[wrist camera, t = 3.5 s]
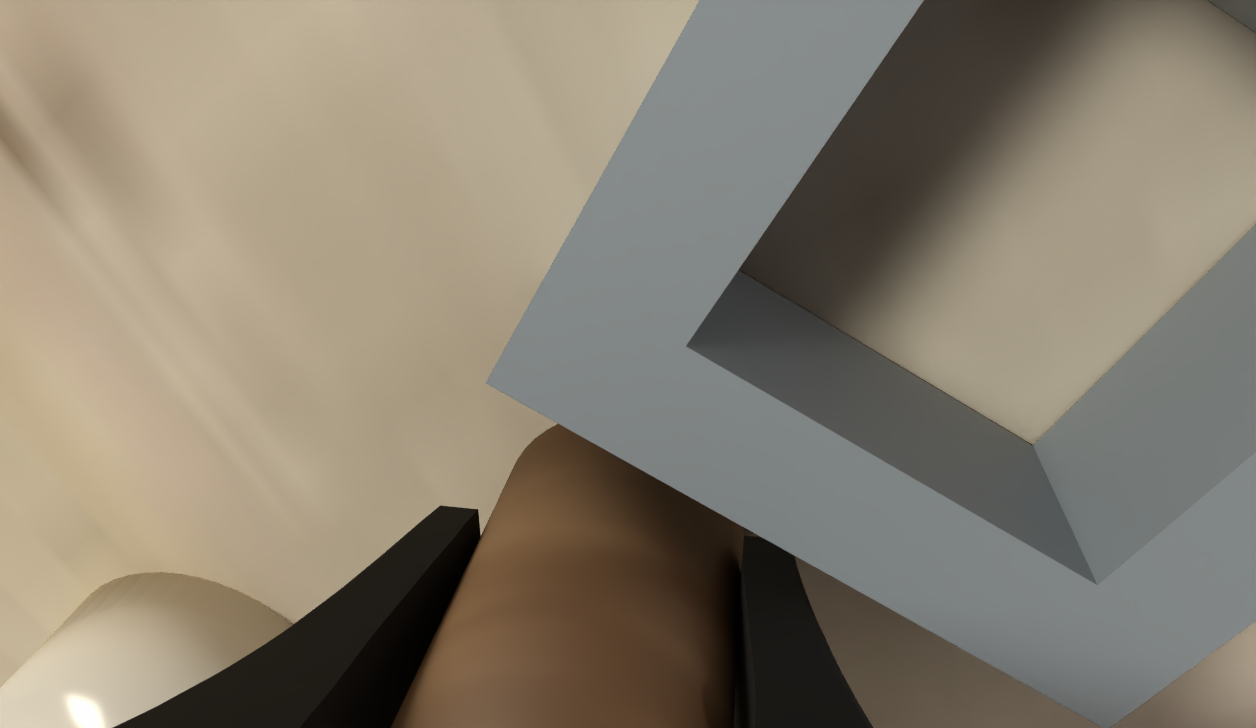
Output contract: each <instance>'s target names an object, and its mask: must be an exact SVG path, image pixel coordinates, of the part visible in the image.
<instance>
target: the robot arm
mask: <svg viewBox="0 0 1256 728" xmlns="http://www.w3.org/2000/svg"><path fill="white" fill-rule="evenodd" d="M480 537H481V536H480V525H479V515H478V509H468V508H458V507H448V506H439V507H438V508H437V509H436V510H434V511H433V512H432V513H431V514H430V515H428V516H427V517H426V518H425V519H423V520H422V521H421V522H420V523H419V524H418V525H416V526H415V527H414V528H413V529H412V530H411V531H409V532H408V533H407V534H406V535H405V536H404V537H402V538H401V539H400V540H399V541H398V542H397V543H396V544H394V545H393V546H392V547H391V548H390V549H389V550H387V551H386V552H385V553H384V554H383V555H381V556H380V557H379V558H378V559H377V560H376V561H374V562H373V563H372V564H371V565H370V566H368V567H367V568H366V569H365V570H363V571H362V572H361V573H360V574H359V575H357V576H356V577H355V578H354V579H352V580H351V581H350V582H349V583H348V584H346V585H345V586H344V587H343V588H341V589H340V590H339V591H338V592H336V593H335V594H334V595H332V596H331V597H330V598H328V599H327V600H326V601H324V602H323V603H322V604H320V605H319V606H318V607H316V608H315V609H314V610H312V611H311V612H310V613H308V614H307V615H306V616H304V617H303V618H302V619H300V620H299V621H298V622H296V623H295V624H294V625H292V626H291V627H289V628H288V629H286V630H285V631H284V632H282V633H281V634H279V635H278V636H276V637H275V638H273V639H272V640H270V641H269V642H267V643H266V644H264V645H263V646H261V647H259V648H258V649H256V650H255V651H253V652H251V653H250V654H248V655H247V656H245V657H244V658H242V659H240V660H239V661H237V662H236V663H234V664H232V665H231V666H229V667H227V668H226V669H224V670H222V671H221V672H219V673H217V674H215V675H213V676H212V677H210V678H208V679H206V680H204V681H202V682H200V683H199V684H197V685H195V686H193V687H191V688H189V689H188V690H186V691H184V692H182V693H180V694H178V695H177V696H175V697H173V698H171V699H169V700H167V701H166V702H164V703H162V704H160V705H158V706H156V707H154V708H152V709H150V710H148V711H146V712H144V713H142V714H140V715H138V716H136V717H134V718H132V719H130V720H127V721H125V722H123V723H121V724H119V725H117V726H115V727H113V728H391V726H392V724H393V722H394V720H395V718H396V715H397V713H398V711H399V709H400V707H401V705H402V703H403V701H404V698H405V696H406V694H407V692H408V690H409V688H410V686H411V684H412V682H413V679H414V677H415V675H416V673H417V671H418V669H419V667H420V665H421V662H422V660H423V658H424V656H425V654H426V652H427V650H428V648H429V645H430V643H431V641H432V639H433V637H434V635H435V633H436V631H437V629H438V626H439V624H440V622H441V620H442V618H443V616H444V614H445V612H446V609H447V607H448V605H449V603H450V601H451V599H452V597H453V595H454V592H455V590H456V588H457V586H458V584H459V582H460V580H461V578H462V576H463V573H464V571H465V569H466V567H467V565H468V563H469V561H470V559H471V556H472V554H473V552H474V550H475V548H476V546H477V544H478V542H479V539H480ZM734 728H873V727H872V725H871V723H870V722H869V720H868V718H867V717H866V715H865V713H864V712H863V710H862V708H861V707H860V705H859V703H858V701H857V700H856V698H855V696H854V694H853V692H852V691H851V689H850V687H849V685H848V683H847V681H846V680H845V678H844V676H843V674H842V672H841V670H840V668H839V666H838V664H837V662H836V660H835V658H834V656H833V654H832V652H831V650H830V648H829V646H828V644H827V641H826V639H825V637H824V635H823V633H822V631H821V628H820V626H819V624H818V622H817V620H816V617H815V615H814V612H813V610H812V608H811V605H810V602H809V600H808V597H807V595H806V592H805V589H804V587H803V584H802V581H801V578H800V575H799V571H798V568H797V565H796V561H795V557H794V555H792V554H791V553H789V552H787V551H785V550H784V549H782V548H780V547H778V546H776V545H775V544H773V543H771V542H769V541H767V540H766V539H764V538H761V537H751V536H744V541H743V554H742V566H741V580H740V597H739V614H738V658H737V676H736V693H735V711H734Z"/></svg>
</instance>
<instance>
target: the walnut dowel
mask: <svg viewBox="0 0 1256 728" xmlns="http://www.w3.org/2000/svg"><path fill="white" fill-rule="evenodd" d="M744 535H745V528H744V527H742V526H741V525H739V524H737V523H735V522H733V521H732V520H730V519H728V518H726V517H724V516H723V515H721V514H719V513H717V512H716V511H714V510H712V509H710V508H708V507H707V506H705V505H703V504H701V503H699V502H698V501H696V500H694V499H692V498H690V497H689V496H687V495H685V494H683V493H682V492H680V491H678V490H676V489H674V488H673V487H671V486H669V485H667V484H665V483H664V482H662V481H660V480H658V479H656V478H655V477H653V476H651V475H649V474H648V473H646V472H644V471H642V470H640V469H639V468H637V467H635V466H633V465H631V464H630V463H628V462H626V461H624V460H622V459H621V458H619V457H617V456H615V455H614V454H612V453H610V452H608V451H606V450H605V449H603V448H601V447H599V446H597V445H596V444H594V443H592V442H590V441H588V440H587V439H585V438H583V437H581V436H580V435H578V434H576V433H574V432H572V431H571V430H569V429H567V428H565V427H563V426H562V425H560V424H557V425H555V426H554V427H552V428H550V429H548V430H546V431H545V432H544V433H542V434H541V435H539V436H538V437H537V438H535V439H534V440H533V441H532V442H531V443H530V444H529V445H528V446H527V447H526V448H525V450H524V451H523V453H522V454H521V455H520V457H519V458H518V460H517V462H516V464H515V466H514V468H513V470H512V472H511V474H510V476H509V478H508V480H507V482H506V484H505V487H504V489H503V491H502V493H501V495H500V497H499V499H498V501H497V503H496V506H495V508H494V510H493V512H492V514H491V516H490V518H489V520H488V523H487V525H486V527H485V529H484V531H483V533H482V535H481V537H480V539H479V542H478V544H477V546H476V548H475V550H474V552H473V554H472V556H471V559H470V561H469V563H468V565H467V567H466V569H465V571H464V573H463V576H462V578H461V580H460V582H459V584H458V586H457V588H456V590H455V592H454V595H453V597H452V599H451V601H450V603H449V605H448V607H447V609H446V612H445V614H444V616H443V618H442V620H441V622H440V624H439V626H438V629H437V631H436V633H435V635H434V637H433V639H432V641H431V643H430V645H429V648H428V650H427V652H426V654H425V656H424V658H423V660H422V662H421V665H420V667H419V669H418V671H417V673H416V675H415V677H414V679H413V682H412V684H411V686H410V688H409V690H408V692H407V694H406V696H405V698H404V701H403V703H402V705H401V707H400V709H399V711H398V713H397V715H396V718H395V720H394V722H393V724H392V726H391V728H734V711H735V693H736V676H737V658H738V614H739V597H740V580H741V566H742V554H743V541H744Z"/></svg>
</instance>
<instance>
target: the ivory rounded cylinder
mask: <svg viewBox="0 0 1256 728" xmlns="http://www.w3.org/2000/svg"><path fill="white" fill-rule="evenodd" d="M292 625H293V624H291V623H290V622H289V621H287V620H286V619H285V618H283V617H282V616H281V615H279V614H278V613H277V612H275V611H274V610H272V609H270V608H269V607H267V606H265V605H264V604H262V603H261V602H259V601H257V600H255V599H253V598H251V597H249V596H247V595H245V594H243V593H241V592H239V591H237V590H234V589H232V588H229V587H227V586H224V585H222V584H219V583H216V582H212V581H209V580H206V579H202V578H198V577H193V576H188V575H183V574H174V573H163V572H160V573H140V574H133V575H128V576H124V577H121V578H118V579H114V580H112V581H110V582H108V583H106V584H104V585H102V586H101V587H99V588H98V589H97V590H95V591H94V592H93V593H91V594H90V595H89V596H88V597H87V598H86V599H85V601H84V602H83V603H82V604H81V605H80V606H79V607H78V608H77V609H76V610H75V611H74V612H73V613H72V614H71V615H70V616H69V617H68V618H67V619H66V620H65V621H64V622H63V623H62V625H61V626H60V627H59V628H58V629H57V630H56V631H55V632H54V633H53V634H52V635H51V636H50V637H49V638H48V639H47V640H46V641H45V642H44V643H43V644H42V645H41V646H40V648H39V649H38V650H37V651H36V652H35V653H34V654H33V655H32V656H31V657H30V658H29V659H28V660H27V661H26V662H25V663H24V664H23V665H22V666H21V667H20V668H19V669H18V671H17V672H16V673H15V674H14V675H13V676H12V677H11V678H10V679H9V680H8V681H7V682H6V683H5V684H4V685H3V686H2V687H1V688H0V728H113V727H115V726H117V725H119V724H121V723H123V722H125V721H127V720H130V719H132V718H134V717H136V716H138V715H140V714H142V713H144V712H146V711H148V710H150V709H152V708H154V707H156V706H158V705H160V704H162V703H164V702H166V701H167V700H169V699H171V698H173V697H175V696H177V695H178V694H180V693H182V692H184V691H186V690H188V689H189V688H191V687H193V686H195V685H197V684H199V683H200V682H202V681H204V680H206V679H208V678H210V677H212V676H213V675H215V674H217V673H219V672H221V671H222V670H224V669H226V668H227V667H229V666H231V665H232V664H234V663H236V662H237V661H239V660H240V659H242V658H244V657H245V656H247V655H248V654H250V653H251V652H253V651H255V650H256V649H258V648H259V647H261V646H263V645H264V644H266V643H267V642H269V641H270V640H272V639H273V638H275V637H276V636H278V635H279V634H281V633H282V632H284V631H285V630H286V629H288V628H289V627H291V626H292Z"/></svg>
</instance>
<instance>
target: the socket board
mask: <svg viewBox="0 0 1256 728" xmlns="http://www.w3.org/2000/svg"><path fill="white" fill-rule="evenodd" d="M923 1H924V0H699V2H698V4H697V6H696V8H695V9H694V11H693V13H692V15H691V16H690V18H689V20H688V22H687V24H686V25H685V27H684V29H683V31H682V33H681V34H680V36H679V38H678V40H677V42H676V43H675V45H674V47H673V49H672V50H671V52H670V54H669V56H668V58H667V59H666V61H665V63H664V65H663V67H662V68H661V70H660V72H659V74H658V76H657V77H656V79H655V81H654V83H653V84H652V86H651V88H650V90H649V92H648V93H647V95H646V97H645V99H644V101H643V102H642V104H641V106H640V108H639V109H638V111H637V113H636V115H635V117H634V118H633V120H632V122H631V124H630V126H629V127H628V129H627V131H626V133H625V135H624V136H623V138H622V140H621V142H620V143H619V145H618V147H617V149H616V151H615V152H614V154H613V156H612V158H611V160H610V161H609V163H608V165H607V167H606V169H605V170H604V172H603V174H602V176H601V177H600V179H599V181H598V183H597V185H596V186H595V188H594V190H593V192H592V194H591V195H590V197H589V199H588V201H587V202H586V204H585V206H584V208H583V210H582V211H581V213H580V215H579V217H578V219H577V220H576V222H575V224H574V226H573V228H572V229H571V231H570V233H569V235H568V236H567V238H566V240H565V242H564V244H563V245H562V247H561V249H560V251H559V253H558V254H557V256H556V258H555V260H554V262H553V263H552V265H551V267H550V269H549V270H548V272H547V274H546V276H545V278H544V279H543V281H542V283H541V285H540V287H539V288H538V290H537V292H536V294H535V295H534V297H533V299H532V301H531V303H530V304H529V306H528V308H527V310H526V312H525V313H524V315H523V317H522V319H521V321H520V322H519V324H518V326H517V328H516V329H515V331H514V333H513V335H512V337H511V338H510V340H509V342H508V344H507V346H506V347H505V349H504V351H503V353H502V355H501V356H500V358H499V360H498V362H497V363H496V365H495V367H494V369H493V371H492V372H491V374H490V376H489V378H488V380H487V381H486V384H488V385H490V386H492V387H494V388H495V389H497V390H499V391H501V392H503V393H504V394H506V395H508V396H510V397H512V398H513V399H515V400H517V401H519V402H520V403H522V404H524V405H526V406H528V407H529V408H531V409H533V410H535V411H537V412H538V413H540V414H542V415H544V416H546V417H547V418H549V419H551V420H553V421H554V422H556V423H558V424H560V425H562V426H563V427H565V428H567V429H569V430H571V431H572V432H574V433H576V434H578V435H580V436H581V437H583V438H585V439H587V440H588V441H590V442H592V443H594V444H596V445H597V446H599V447H601V448H603V449H605V450H606V451H608V452H610V453H612V454H614V455H615V456H617V457H619V458H621V459H622V460H624V461H626V462H628V463H630V464H631V465H633V466H635V467H637V468H639V469H640V470H642V471H644V472H646V473H648V474H649V475H651V476H653V477H655V478H656V479H658V480H660V481H662V482H664V483H665V484H667V485H669V486H671V487H673V488H674V489H676V490H678V491H680V492H682V493H683V494H685V495H687V496H689V497H690V498H692V499H694V500H696V501H698V502H699V503H701V504H703V505H705V506H707V507H708V508H710V509H712V510H714V511H716V512H717V513H719V514H721V515H723V516H724V517H726V518H728V519H730V520H732V521H733V522H735V523H737V524H739V525H741V526H742V527H744V528H746V529H748V530H750V531H751V532H753V533H755V534H757V535H758V536H760V537H762V538H764V539H766V540H767V541H769V542H771V543H773V544H775V545H776V546H778V547H780V548H782V549H784V550H785V551H787V552H789V553H791V554H792V555H794V556H796V557H798V558H800V559H801V560H803V561H805V562H807V563H809V564H810V565H812V566H814V567H816V568H818V569H819V570H821V571H823V572H825V573H826V574H828V575H830V576H832V577H834V578H835V579H837V580H839V581H841V582H843V583H844V584H846V585H848V586H850V587H852V588H853V589H855V590H857V591H859V592H860V593H862V594H864V595H866V596H868V597H869V598H871V599H873V600H875V601H877V602H878V603H880V604H882V605H884V606H886V607H887V608H889V609H891V610H893V611H895V612H896V613H898V614H900V615H902V616H903V617H905V618H907V619H909V620H911V621H912V622H914V623H916V624H918V625H920V626H921V627H923V628H925V629H927V630H929V631H930V632H932V633H934V634H936V635H937V636H939V637H941V638H943V639H945V640H946V641H948V642H950V643H952V644H954V645H955V646H957V647H959V648H961V649H963V650H964V651H966V652H968V653H970V654H971V655H973V656H975V657H977V658H979V659H980V660H982V661H984V662H986V663H988V664H989V665H991V666H993V667H995V668H997V669H998V670H1000V671H1002V672H1004V673H1005V674H1007V675H1009V676H1011V677H1013V678H1014V679H1016V680H1018V681H1020V682H1022V683H1023V684H1025V685H1027V686H1029V687H1031V688H1032V689H1034V690H1036V691H1038V692H1039V693H1041V694H1043V695H1045V696H1047V697H1048V698H1050V699H1052V700H1054V701H1056V702H1057V703H1059V704H1061V705H1063V706H1065V707H1066V708H1068V709H1070V710H1072V711H1073V712H1075V713H1077V714H1079V715H1081V716H1082V717H1084V718H1086V719H1088V720H1090V721H1091V722H1093V723H1095V724H1097V725H1099V726H1100V727H1102V728H1110V727H1112V726H1113V725H1114V724H1116V723H1117V722H1119V721H1120V720H1121V719H1123V718H1124V717H1125V716H1127V715H1128V714H1130V713H1131V712H1132V711H1134V710H1135V709H1136V708H1138V707H1139V706H1140V705H1142V704H1143V703H1145V702H1146V701H1147V700H1149V699H1150V698H1151V697H1153V696H1154V695H1155V694H1157V693H1158V692H1160V691H1161V690H1162V689H1164V688H1165V687H1166V686H1168V685H1169V684H1170V683H1172V682H1173V681H1175V680H1176V679H1177V678H1179V677H1180V676H1181V675H1183V674H1184V673H1185V672H1187V671H1188V670H1190V669H1191V668H1192V667H1194V666H1195V665H1196V664H1198V663H1199V662H1200V661H1202V660H1203V659H1205V658H1206V657H1207V656H1209V655H1210V654H1211V653H1213V652H1214V651H1215V650H1217V649H1218V648H1220V647H1221V646H1222V645H1224V644H1225V643H1226V642H1228V641H1229V640H1230V639H1232V638H1233V637H1235V636H1236V635H1237V634H1239V633H1240V632H1241V631H1243V630H1244V629H1245V628H1247V627H1248V626H1250V625H1251V624H1252V623H1254V622H1255V621H1256V225H1255V226H1254V227H1253V228H1252V229H1251V230H1250V231H1249V232H1248V233H1247V234H1246V235H1245V236H1244V237H1243V238H1242V239H1241V240H1240V241H1239V242H1238V243H1237V244H1236V245H1235V246H1234V247H1233V248H1232V249H1231V250H1230V251H1229V252H1228V253H1227V254H1226V255H1225V256H1224V257H1223V258H1222V259H1221V260H1220V261H1219V262H1218V263H1217V264H1216V265H1215V266H1214V267H1213V268H1212V269H1211V270H1210V271H1209V272H1208V273H1207V274H1206V275H1205V276H1204V277H1203V278H1202V279H1201V280H1200V281H1199V282H1198V283H1197V284H1195V285H1194V286H1193V287H1192V288H1191V289H1190V290H1189V291H1188V292H1187V293H1186V294H1185V295H1184V296H1183V297H1182V298H1181V299H1180V300H1179V301H1178V302H1177V303H1176V304H1175V305H1174V306H1173V307H1172V308H1171V309H1170V310H1169V311H1168V312H1167V313H1166V314H1165V315H1164V316H1163V317H1162V318H1161V319H1160V320H1159V321H1158V322H1157V323H1156V324H1155V325H1154V326H1153V327H1152V328H1151V329H1150V330H1149V331H1148V332H1147V333H1146V334H1145V335H1144V336H1143V337H1142V338H1141V339H1140V340H1139V341H1138V342H1137V343H1136V344H1135V345H1134V346H1133V347H1132V348H1131V349H1130V350H1129V351H1128V352H1127V353H1126V354H1125V355H1124V356H1123V357H1122V358H1121V359H1120V360H1119V361H1118V362H1117V363H1116V364H1115V365H1114V366H1113V367H1112V368H1111V369H1110V370H1109V371H1108V372H1107V373H1106V374H1105V375H1104V376H1103V377H1102V378H1101V379H1100V380H1099V381H1098V382H1097V383H1096V384H1095V385H1094V386H1093V387H1092V388H1091V389H1090V390H1089V391H1088V392H1087V393H1086V394H1085V395H1084V396H1083V397H1082V398H1081V399H1080V400H1079V401H1078V402H1077V403H1076V404H1075V405H1074V406H1072V407H1071V408H1070V409H1069V410H1068V411H1067V412H1066V413H1065V414H1064V415H1063V416H1062V417H1061V418H1060V419H1059V420H1058V421H1057V422H1056V423H1055V424H1054V425H1053V426H1052V427H1051V428H1050V429H1049V430H1048V431H1047V432H1046V433H1045V434H1044V435H1043V436H1042V437H1041V438H1040V439H1039V440H1038V441H1037V442H1036V443H1035V444H1034V445H1033V446H1032V445H1031V444H1029V443H1027V442H1026V441H1024V440H1022V439H1021V438H1019V437H1017V436H1016V435H1014V434H1012V433H1011V432H1009V431H1007V430H1006V429H1004V428H1002V427H1001V426H999V425H997V424H995V423H994V422H992V421H990V420H989V419H987V418H985V417H984V416H982V415H980V414H979V413H977V412H975V411H974V410H972V409H970V408H969V407H967V406H965V405H964V404H962V403H960V402H959V401H957V400H955V399H954V398H952V397H950V396H949V395H947V394H945V393H943V392H942V391H940V390H938V389H937V388H935V387H933V386H932V385H930V384H928V383H927V382H925V381H923V380H922V379H920V378H918V377H917V376H915V375H913V374H912V373H910V372H908V371H907V370H905V369H903V368H902V367H900V366H898V365H897V364H895V363H893V362H891V361H890V360H888V359H886V358H885V357H883V356H881V355H880V354H878V353H876V352H875V351H873V350H871V349H870V348H868V347H866V346H865V345H863V344H861V343H860V342H858V341H856V340H855V339H853V338H851V337H850V336H848V335H846V334H845V333H843V332H841V331H839V330H838V329H836V328H834V327H833V326H831V325H829V324H828V323H826V322H824V321H823V320H821V319H819V318H818V317H816V316H814V315H813V314H811V313H809V312H808V311H806V310H804V309H803V308H801V307H799V306H798V305H796V304H794V303H793V302H791V301H789V300H788V299H786V298H784V297H782V296H781V295H779V294H777V293H776V292H774V291H772V290H771V289H769V288H767V287H766V286H764V285H762V284H761V283H759V282H757V281H756V280H754V279H752V278H751V277H749V276H747V275H746V274H744V273H742V272H741V271H739V268H740V267H741V265H742V264H743V262H744V261H745V260H746V258H747V257H748V255H749V254H750V252H751V251H752V249H753V248H754V246H755V245H756V244H757V242H758V241H759V239H760V238H761V236H762V235H763V233H764V232H765V230H766V229H767V228H768V226H769V225H770V223H771V222H772V220H773V219H774V217H775V216H776V214H777V213H778V212H779V210H780V209H781V207H782V206H783V204H784V203H785V201H786V200H787V198H788V197H789V196H790V194H791V193H792V191H793V190H794V188H795V187H796V185H797V184H798V182H799V181H800V180H801V178H802V177H803V175H804V174H805V172H806V171H807V169H808V168H809V166H810V165H811V164H812V162H813V161H814V159H815V158H816V156H817V155H818V153H819V152H820V150H821V149H822V148H823V146H824V145H825V143H826V142H827V140H828V139H829V137H830V136H831V134H832V133H833V132H834V130H835V129H836V127H837V126H838V124H839V123H840V121H841V120H842V118H843V117H844V116H845V114H846V113H847V111H848V110H849V108H850V107H851V105H852V104H853V103H854V101H855V100H856V98H857V97H858V95H859V94H860V92H861V91H862V89H863V88H864V87H865V85H866V84H867V82H868V81H869V79H870V78H871V76H872V75H873V73H874V72H875V71H876V69H877V68H878V66H879V65H880V63H881V62H882V60H883V59H884V57H885V56H886V55H887V53H888V52H889V50H890V49H891V47H892V46H893V44H894V43H895V41H896V40H897V39H898V37H899V36H900V34H901V33H902V31H903V30H904V28H905V27H906V25H907V24H908V23H909V21H910V20H911V18H912V17H913V15H914V14H915V12H916V11H917V9H918V8H919V7H920V5H921V4H922V2H923ZM1209 1H1210V2H1212V3H1213V4H1214V5H1216V6H1217V7H1219V8H1220V9H1222V10H1223V11H1225V12H1226V13H1228V14H1229V15H1231V16H1232V17H1233V18H1235V19H1236V20H1238V21H1239V22H1241V23H1242V24H1244V25H1245V26H1247V27H1248V28H1250V29H1251V30H1252V31H1254V32H1255V33H1256V0H1209Z"/></svg>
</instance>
